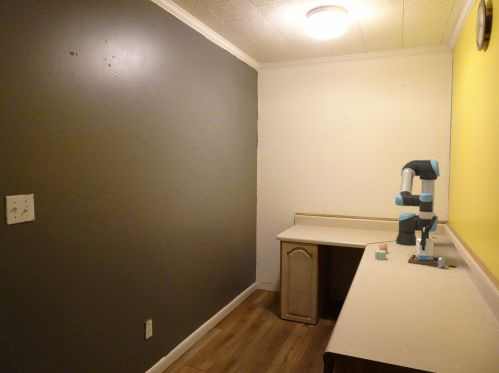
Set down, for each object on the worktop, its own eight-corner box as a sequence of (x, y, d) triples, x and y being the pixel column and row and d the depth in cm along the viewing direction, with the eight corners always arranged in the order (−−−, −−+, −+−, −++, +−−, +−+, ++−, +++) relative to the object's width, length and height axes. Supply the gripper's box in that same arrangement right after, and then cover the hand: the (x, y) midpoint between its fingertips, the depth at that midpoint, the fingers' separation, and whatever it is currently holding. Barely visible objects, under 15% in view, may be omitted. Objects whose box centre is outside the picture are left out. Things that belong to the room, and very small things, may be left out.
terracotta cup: (380, 251, 250) (380, 243, 250) (387, 252, 247) (388, 243, 247) (378, 253, 246) (378, 244, 245) (386, 254, 243) (386, 245, 243)
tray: (412, 257, 233) (412, 254, 233) (440, 261, 225) (440, 258, 225) (408, 262, 221) (408, 259, 221) (437, 266, 212) (437, 263, 212)
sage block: (374, 257, 235) (375, 249, 235) (384, 257, 233) (384, 250, 233) (375, 259, 229) (375, 252, 229) (385, 260, 228) (385, 252, 227)
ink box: (433, 260, 218) (434, 238, 217) (418, 259, 219) (419, 238, 219) (429, 256, 226) (430, 235, 225) (415, 256, 228) (415, 235, 227)
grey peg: (437, 266, 213) (438, 256, 212) (444, 267, 211) (445, 257, 210) (437, 268, 210) (437, 258, 209) (444, 269, 208) (444, 258, 207)
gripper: (421, 215, 233) (420, 249, 234) (416, 220, 214) (415, 256, 215) (434, 216, 229) (433, 250, 230) (429, 221, 210) (428, 258, 211)
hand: (424, 253), depth 223 cm, fingers closed on ink box, 10 cm apart
